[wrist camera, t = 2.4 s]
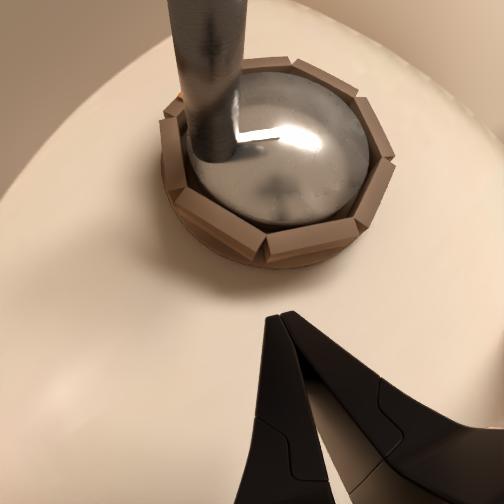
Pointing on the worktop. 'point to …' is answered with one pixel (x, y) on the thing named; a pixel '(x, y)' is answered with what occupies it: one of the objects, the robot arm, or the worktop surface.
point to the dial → (261, 126)
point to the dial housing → (262, 241)
